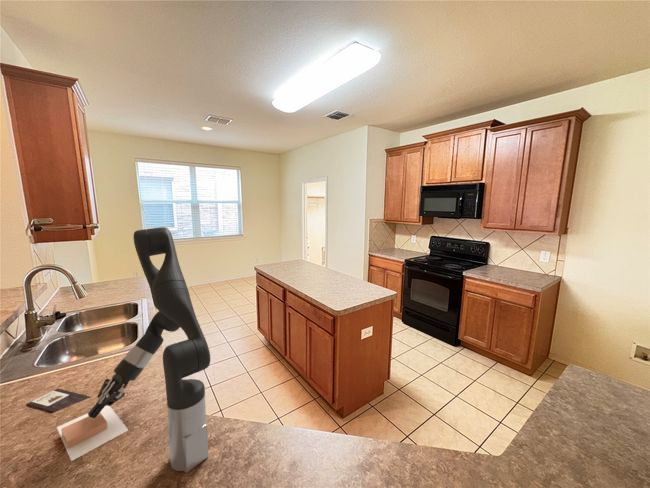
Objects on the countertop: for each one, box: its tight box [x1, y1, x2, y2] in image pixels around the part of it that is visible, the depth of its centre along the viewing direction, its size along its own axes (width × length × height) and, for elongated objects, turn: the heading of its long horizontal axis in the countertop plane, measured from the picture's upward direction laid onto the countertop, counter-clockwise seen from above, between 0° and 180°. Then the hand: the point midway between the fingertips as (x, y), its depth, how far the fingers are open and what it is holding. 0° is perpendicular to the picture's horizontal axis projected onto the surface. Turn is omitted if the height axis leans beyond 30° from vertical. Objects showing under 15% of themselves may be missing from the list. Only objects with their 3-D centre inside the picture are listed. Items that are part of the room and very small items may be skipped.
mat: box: [56, 406, 129, 462], centre depth 81 cm, size 20×13×1 cm, turn 54°
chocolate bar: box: [25, 388, 91, 414], centre depth 95 cm, size 9×1×18 cm
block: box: [61, 413, 107, 448], centre depth 80 cm, size 8×2×9 cm
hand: (91, 416), depth 81 cm, fingers closed
